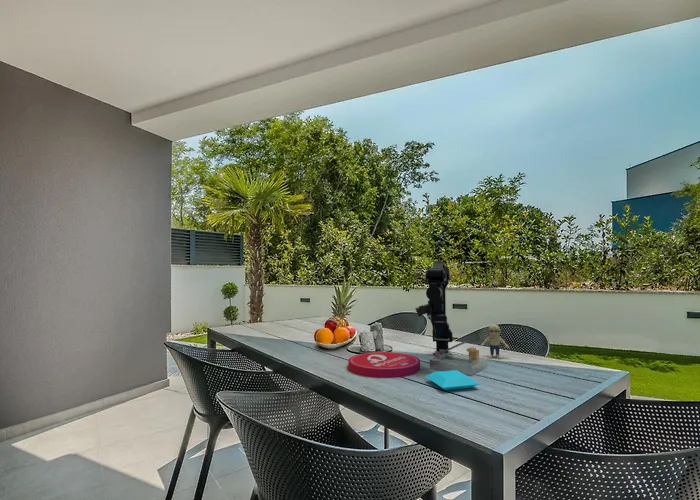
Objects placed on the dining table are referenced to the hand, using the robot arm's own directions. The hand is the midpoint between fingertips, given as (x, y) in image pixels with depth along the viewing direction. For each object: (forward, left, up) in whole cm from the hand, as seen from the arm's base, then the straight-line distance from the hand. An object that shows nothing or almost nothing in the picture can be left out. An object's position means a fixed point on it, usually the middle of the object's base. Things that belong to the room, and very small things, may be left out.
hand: (436, 336), depth 168 cm
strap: (-3, +5, -6) cm, 8 cm away
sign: (+12, -19, -14) cm, 26 cm away
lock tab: (-10, +11, -9) cm, 18 cm away
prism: (+18, +14, -14) cm, 26 cm away
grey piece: (-6, +6, -13) cm, 16 cm away
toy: (-32, +12, -14) cm, 37 cm away
